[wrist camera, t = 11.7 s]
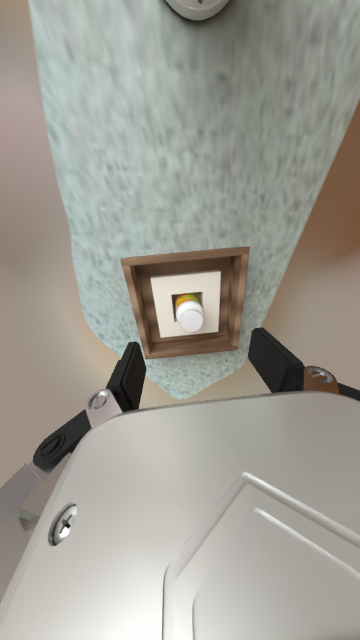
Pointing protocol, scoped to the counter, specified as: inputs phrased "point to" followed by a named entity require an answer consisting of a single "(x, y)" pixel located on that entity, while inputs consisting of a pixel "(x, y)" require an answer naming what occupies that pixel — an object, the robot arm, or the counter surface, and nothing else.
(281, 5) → the counter surface
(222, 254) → the open box
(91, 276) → the counter surface
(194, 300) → the supplement bottle
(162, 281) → the socket plate
